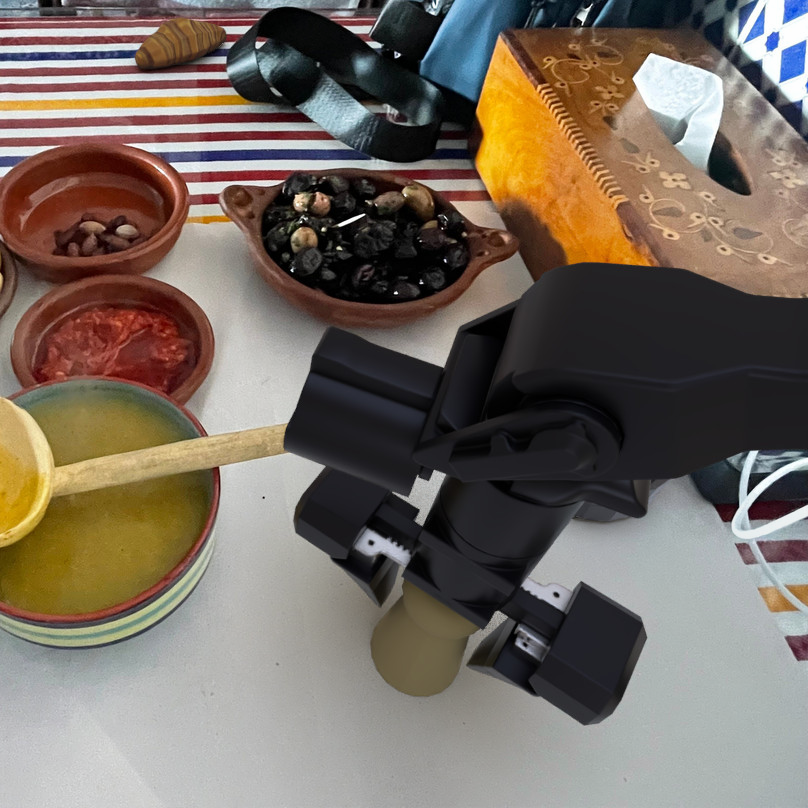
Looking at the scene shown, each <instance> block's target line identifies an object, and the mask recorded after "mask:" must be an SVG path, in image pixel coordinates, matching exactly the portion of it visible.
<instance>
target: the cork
mask: <svg viewBox="0 0 808 808" xmlns="http://www.w3.org/2000/svg"><path fill="white" fill-rule="evenodd" d="M401 590H402V594H401V596H400V597H399V598H398V599H397V600H396V601H395V603H394V604H393V605H392V606H391V607H390V608H389V609H388V610H387V612H386V613H385V614H384V615H383V616H382V618H381V619H380V620H379V621H378V623H377V625H376V626H375V628H374V629H373V632H372V635H371V638H370V639H371V640H370V652H371V659H372V661H373V664H374V666H375V669H376V671H377V672H378V673H379V675H380V676H381V678H382V679H383V680H384V681H385V683H387V684H388V685H390V686H391V687H392V688H394V689H395V690H396V691H398V692H400V693H403V694H404V695H409V696H411V697H424V698H425V697H426V698H428V697H431V696H434V695H438V694H440V693H442V692H443V691H445V690H446V689H447V688H448V687H450V686H451V685H452V684H453V682H454V681H455V679H456V677H457V675H458V674H459V671H460V669H461V665H462V661H463V658H464V655H465V651H466V649H467V645H468V642H469V639H470V636H472V635H475V633H477V632H478V631H479V630H481V629H480V628H479V627H477V626H476V625H474V624H473V623H471V622H470V621H468V620H467V619H465V618H464V617H462V616H461V615H459V614H458V613H456V612H454V611H453V610H451V609H450V608H448V607H447V606H445V605H444V604H442V603H441V602H439V601H438V600H436V599H435V598H433V597H432V596H430V595H428V594H427V593H425V592H424V591H422V590H421V589H419V588H418V587H416V586H415V585H413V584H412V583H410V582H409V581H407V580H406V579H404V578H403V581H402V585H401Z"/></svg>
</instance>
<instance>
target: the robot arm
mask: <svg viewBox="0 0 808 808" xmlns="http://www.w3.org/2000/svg"><path fill="white" fill-rule="evenodd" d="M282 442H283V443H282V447H283V451H284V452H287V453H290V454H293V455H295V456H298V457H301V458H302V459H306V460H309V461H311V462H313V463H316V464H319V465H321V466H324V468H323V469H322V470H321V471H320V472H319V474H318V475H317V476H316V477H315V478H314V480H313V481H312V482H311V483H310V485H309V486H308V487H307V488H306V489H305V490H304V492H303V493H301V496H300V498H299V500H298V501H297V504H296V505H295V508H294V514H293V519H292V523H293V529H294V532H295V534H296V535H298V536H299V537H301V538H302V539H304V540H305V541H307V542H308V543H310V544H311V545H313V546H314V547H315V548H317V549H319V550H320V551H322V552H323V553H325V554H326V555H327V556H329V559H330V560H331V562H332V563H333V564H335V565H336V566H338V567H339V568H340V569H341V570H342V571H343V572H344V573H345V574H346V575H347V576H348V577H349V578H350V579H351V580H353V582H354V583H355V584H356V585H357V586H358V587H359V588H360V589H361V590H362V591H363V592H364V593H365V594H366V596H367V597H368V598H369V599H370V601H371V602H372V603H373V604H374V605H376V606H377V607H378V608H382V607H383V606H384V604H385V603H386V601H387V600H388V598H389V596H390V594H391V592H392V590H393V588H394V587H395V584H396V581H397V577H398V574H399V570H400V566H401V567H403V568H404V569H403V571H402V574H401V576H400V577H401V578H402V579H403V580H404V579H406V580H407V581H409V582H410V583H412V584H413V585H415V586H416V587H418V588H419V589H421V590H422V591H424V592H425V593H427V594H428V595H430V596H432V597H433V598H435V599H436V600H438V601H439V602H441V603H442V604H444V605H445V606H447V607H448V608H450V609H451V610H453V611H454V612H456V613H458V614H459V615H461V616H462V617H464V618H465V619H467V620H468V621H470V622H471V623H473V624H474V625H476V626H477V627H479V628H480V629H479V630H482V631H484V630H485V629H486V628H487V626H488V625H489V624H490V622H491V620H492V619H493V617H494V615H495V613H496V612H499V613H501V614H503V615H504V616H505V617H506V619H504V620H503V621H502V622H501V623H500V624H498V625H497V627H496V628H495V627H494V629H493V630H492V631H491V632H490V633H488V635H487V636H485V637H484V638H482V640H481V641H480V642H479V644H478V645H477V646H476V648H475V649H474V651H473V652H472V654H471V655H470V657H469V659H468V661H467V663H466V664H465V667H467V668H468V669H470V670H471V671H474V672H477V673H481V674H483V675H485V676H488V677H491V678H494V679H496V680H499V681H502V682H503V683H506V684H509V685H511V686H513V687H516V688H518V689H520V690H522V691H524V692H526V693H527V694H528V695H530V696H532V697H535V698H541V699H543V700H545V701H547V702H548V703H549V704H551V705H552V706H554V707H556V709H558V710H559V711H561V712H563V713H564V714H566V715H567V716H569V717H571V718H572V719H573V720H575V721H576V722H577V723H579V724H581V725H582V726H585V727H586V726H590V725H597V724H600V723H602V722H603V721H605V720H606V719H607V718H609V717H610V716H612V715H613V714H614V712H615V711H616V709H617V708H618V706H619V705H620V703H621V702H622V700H623V697H624V696H625V693H626V691H627V688H628V686H629V683H630V681H631V679H632V676H633V673H634V671H635V669H636V666H637V664H638V661H639V658H640V656H641V654H642V652H643V650H644V647H645V645H646V642H647V640H648V635H647V631H646V627H645V625H644V621H643V618H642V616H640V615H639V614H638V613H635V612H634V611H632V610H631V609H629V608H627V607H625V606H624V605H622V604H621V603H619V602H617V601H616V600H615V599H612V598H610V597H609V596H607V595H606V594H604V593H602V592H601V591H599V590H597V589H596V588H594V587H593V586H591V585H589V584H587V583H586V582H584V581H582V580H580V581H579V583H578V584H577V585H576V586H575V587H574V588H573V590H570V589H568V588H567V587H566V586H564V585H562V584H561V583H558V582H549V583H547V584H545V585H543V584H541V583H540V582H537V581H536V580H534V579H532V578H531V577H529V576H530V575H531V574H532V572H533V571H534V569H535V568H536V567H537V566H538V564H539V563H540V562H541V561H542V559H543V558H544V557H545V555H546V554H547V553H548V551H549V550H550V548H551V547H552V546H553V544H554V543H555V542H556V541H557V540H558V538H559V537H560V535H561V534H562V533H563V531H564V529H565V528H566V527H567V526H568V525H569V523H570V522H571V520H572V519H573V518H574V517H575V516H574V515H575V514H576V512H577V511H578V510H579V508H580V507H581V506H582V505H583V503H584V502H585V501H587V502H591V503H594V504H597V505H599V506H602V507H605V508H608V509H610V510H613V511H616V512H619V513H621V514H624V515H627V516H630V517H629V518H633V519H643V518H644V517H646V516H647V514H648V511H649V510H648V508H649V505H648V502H649V493H650V484H651V480H660V479H671V480H676V479H680V478H682V477H683V478H684V477H685V476H687V475H690V474H694V473H695V472H697V471H701V470H703V469H705V468H707V467H710V466H712V465H715V464H717V463H720V462H722V461H725V460H727V459H729V458H732V457H735V456H737V455H740V454H742V453H745V452H759V451H760V452H761V451H762V452H763V451H783V450H786V451H787V450H788V451H789V450H791V451H792V450H793V451H808V297H788V296H787V297H786V296H777V295H776V296H775V295H762V294H752V293H748V292H745V291H743V290H740V289H738V288H735V287H733V286H730V285H727V284H725V283H723V282H720V281H717V280H715V279H712V278H710V277H707V276H705V275H702V274H700V273H697V272H694V271H692V270H690V269H687V268H680V267H669V266H668V267H667V266H654V265H644V264H643V265H642V264H641V265H640V264H629V263H628V264H626V263H625V264H624V263H615V262H614V263H613V262H600V261H581V262H576V263H575V262H574V263H570V264H565V265H559V266H556V267H554V268H552V269H549V270H546V271H544V272H543V273H542V274H541V275H540V277H539V279H537V280H536V281H535V282H534V283H533V284H532V285H531V286H529V288H528V289H526V290H525V291H524V292H523V293H522V294H521V296H520V298H518V299H516V300H514V301H511V302H509V303H507V304H505V305H503V306H501V307H498V308H496V309H493V310H492V311H489V312H487V313H485V314H483V315H480V316H479V317H476V318H474V319H472V320H470V321H468V322H466V323H464V324H461V325H460V326H459V327H458V329H457V331H456V333H455V337H454V339H453V342H452V345H451V347H450V351H449V353H448V356H447V358H446V360H445V364H444V366H440V365H437V364H435V363H432V362H429V361H426V360H423V359H420V358H418V357H414V356H411V355H408V354H405V353H402V352H400V351H397V350H394V349H391V348H388V347H385V346H381V345H379V344H376V343H373V342H372V341H369V340H368V339H365V338H364V337H362V336H360V335H358V334H356V333H354V332H352V331H348V330H344V329H342V328H339V327H336V326H333V325H330V326H327V327H326V328H325V330H324V332H323V334H322V336H321V338H320V340H319V341H318V343H317V346H316V347H315V349H314V351H313V353H312V354H311V360H310V366H309V371H308V374H307V375H306V379H305V380H304V383H303V386H302V389H301V391H300V394H299V398H298V401H297V404H296V405H295V408H294V410H293V412H292V415H291V416H290V419H289V421H288V422H287V425H286V427H285V430H284V434H283V440H282ZM434 471H436V472H439V473H441V474H444V475H445V476H444V478H443V480H442V482H441V484H440V486H439V489H438V491H437V493H436V494H435V497H434V500H433V501H432V504H431V506H430V509H429V511H428V513H427V515H426V518H425V519H424V522H423V524H420V523H418V522H416V521H417V519H418V517H419V514H420V511H421V510H420V509H419V508H418V507H416V506H414V505H413V504H411V503H410V502H408V501H407V500H405V499H403V498H401V497H400V496H403V497H406V498H409V497H410V495H411V493H412V491H413V488H414V486H415V482H416V480H417V478H418V479H421V480H422V481H427V482H430V480H431V479H432V476H433V473H434ZM397 494H398V495H400V496H398V495H397Z"/></svg>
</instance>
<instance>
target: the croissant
mask: <svg viewBox="0 0 808 808" xmlns="http://www.w3.org/2000/svg"><path fill="white" fill-rule="evenodd" d="M227 37H228V35H227V31H226V30H225V28H224V27H222V26H220V25H218V24H216V23H215V24H214V23H210V22H205V21H198V20H194V19H190V18H185V17H176V18H175V17H174V18H171V19H169V20H167V21H165V22H163V23H162V24H160V26H159V27H158V28H157V30H156V31H154V32H153V33H152V34H150V36H148V38H146V40H144V42H143V43H141V45H140V46H139V48H138V49H137V51H136V52H135V55H134V61H135V65H136V66H137V67H138V68H139V69H142V70H154V69H162V68H168V67H172V66H176V65H182V64H186V63H191V62H192V63H193V62H194V61H196V60H198V59H201V58H203V57H204V56H206V55H208V54H210V52H211V53H213V52H215V51H216V50H217V49H219V48H220V47H221V46H222V45H223V44H224V43H226V41H227ZM222 43H223V44H222ZM221 44H222V45H221ZM220 45H221V46H220ZM219 46H220V47H219ZM218 47H219V48H218ZM216 48H217V49H216ZM215 49H216V50H215ZM212 51H213V52H212ZM207 53H208V54H207Z"/></svg>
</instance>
